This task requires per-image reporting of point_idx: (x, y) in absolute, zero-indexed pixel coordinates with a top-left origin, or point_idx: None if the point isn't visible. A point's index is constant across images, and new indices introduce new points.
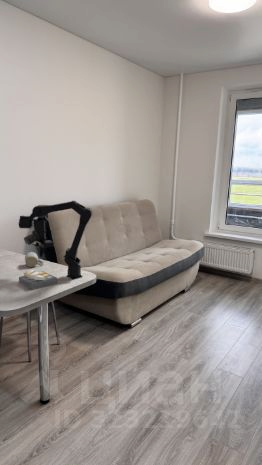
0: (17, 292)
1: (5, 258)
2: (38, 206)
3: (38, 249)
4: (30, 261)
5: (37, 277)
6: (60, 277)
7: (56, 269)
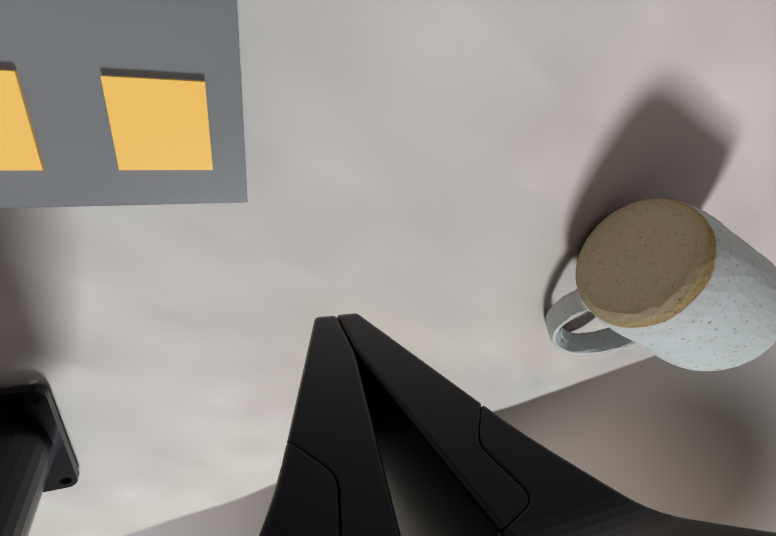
0: None
1: None
2: None
3: (389, 509)
4: (647, 248)
5: None
6: (54, 319)
7: None
